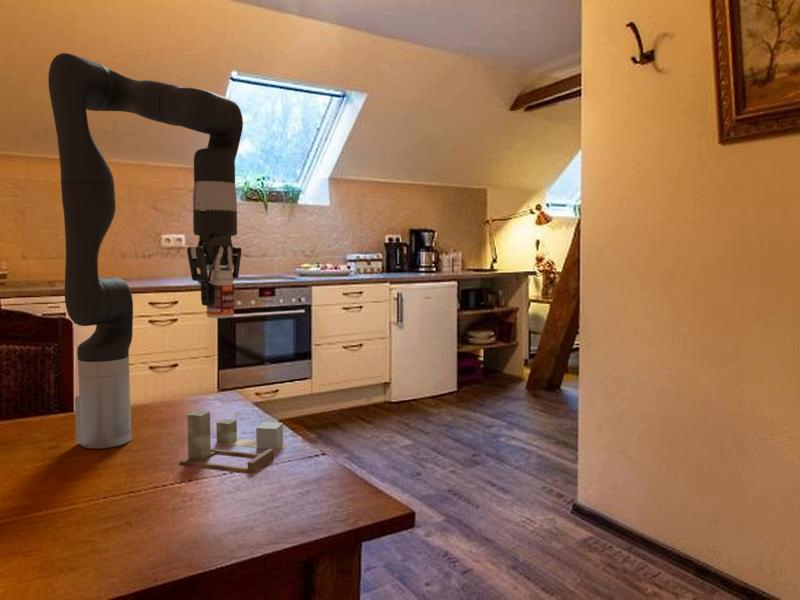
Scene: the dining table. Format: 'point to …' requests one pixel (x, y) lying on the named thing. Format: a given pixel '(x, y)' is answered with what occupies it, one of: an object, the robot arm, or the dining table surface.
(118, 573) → the dining table surface
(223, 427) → the birch slat
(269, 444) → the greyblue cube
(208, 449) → the open wooden frame
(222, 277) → the pill bottle
